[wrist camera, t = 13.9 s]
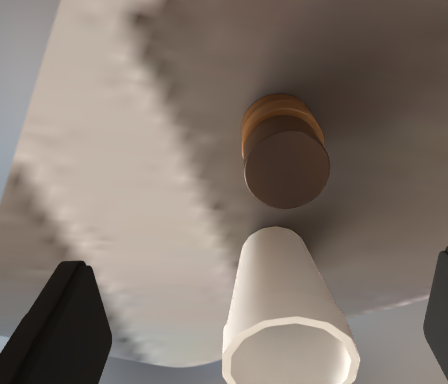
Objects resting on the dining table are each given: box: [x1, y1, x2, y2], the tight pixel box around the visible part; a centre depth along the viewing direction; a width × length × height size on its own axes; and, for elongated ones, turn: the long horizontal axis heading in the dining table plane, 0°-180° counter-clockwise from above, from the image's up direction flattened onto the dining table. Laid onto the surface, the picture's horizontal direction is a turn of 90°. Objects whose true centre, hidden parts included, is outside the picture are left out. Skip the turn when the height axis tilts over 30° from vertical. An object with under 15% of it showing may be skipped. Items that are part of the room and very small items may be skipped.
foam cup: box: [222, 226, 360, 384], centre depth 33 cm, size 10×9×13 cm
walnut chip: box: [243, 115, 330, 209], centre depth 27 cm, size 6×6×4 cm
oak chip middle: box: [242, 101, 324, 155], centre depth 30 cm, size 6×6×2 cm
